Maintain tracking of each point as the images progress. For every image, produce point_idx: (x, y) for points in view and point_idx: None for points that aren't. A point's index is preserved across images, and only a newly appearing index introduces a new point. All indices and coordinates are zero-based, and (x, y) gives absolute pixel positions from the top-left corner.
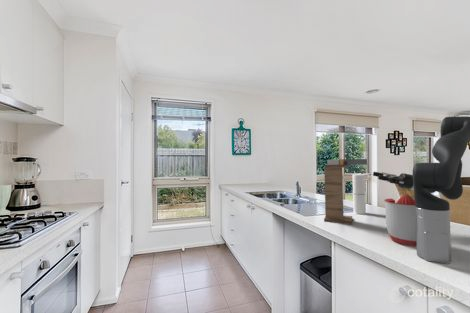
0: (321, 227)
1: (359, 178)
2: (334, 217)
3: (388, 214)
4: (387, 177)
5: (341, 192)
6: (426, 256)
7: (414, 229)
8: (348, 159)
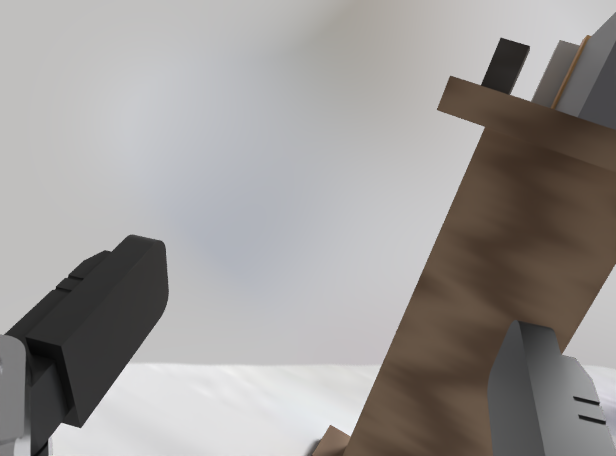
0: (206, 369)
1: None
2: None
3: None
4: (34, 358)
5: (389, 348)
6: None
7: None
8: (593, 34)
